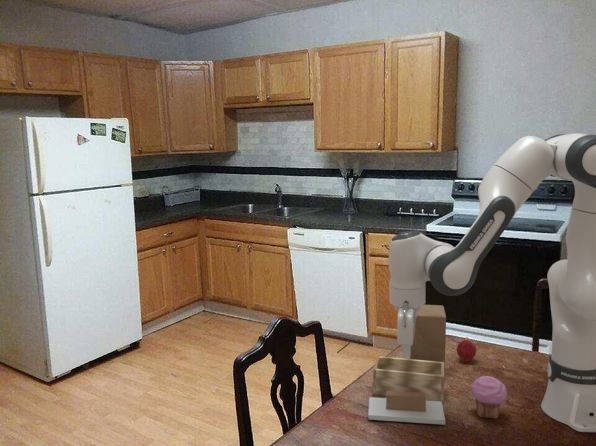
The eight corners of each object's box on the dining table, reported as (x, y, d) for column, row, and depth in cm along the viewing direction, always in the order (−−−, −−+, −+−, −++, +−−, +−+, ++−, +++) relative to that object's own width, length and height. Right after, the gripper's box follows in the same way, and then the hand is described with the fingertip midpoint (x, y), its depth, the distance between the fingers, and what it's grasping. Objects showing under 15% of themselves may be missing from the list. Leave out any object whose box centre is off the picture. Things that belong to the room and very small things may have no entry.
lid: (441, 409, 136) (441, 387, 135) (445, 428, 127) (445, 405, 126) (369, 404, 139) (369, 383, 138) (368, 422, 130) (368, 400, 129)
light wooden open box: (443, 388, 146) (444, 362, 144) (443, 404, 137) (444, 376, 136) (377, 381, 151) (377, 356, 150) (373, 396, 142) (373, 369, 141)
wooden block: (444, 380, 150) (446, 316, 147) (410, 378, 152) (410, 314, 149) (442, 365, 160) (443, 304, 157) (409, 363, 162) (410, 303, 159)
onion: (478, 365, 160) (479, 341, 158) (459, 365, 160) (460, 341, 158) (472, 357, 165) (473, 334, 164) (454, 357, 165) (455, 334, 164)
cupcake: (470, 421, 129) (471, 384, 127) (468, 403, 137) (469, 369, 136) (508, 425, 127) (509, 388, 125) (503, 407, 135) (505, 372, 133)
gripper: (418, 310, 117) (419, 366, 119) (421, 284, 136) (422, 333, 138) (390, 309, 118) (391, 364, 121) (397, 283, 138) (398, 332, 140)
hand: (408, 347), depth 130 cm, fingers open, 8 cm apart
